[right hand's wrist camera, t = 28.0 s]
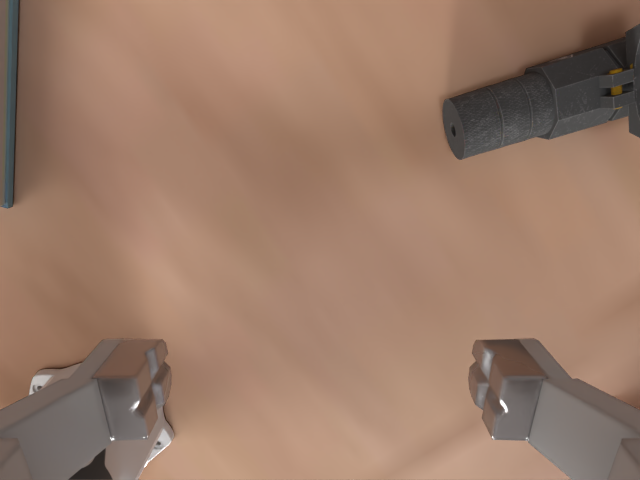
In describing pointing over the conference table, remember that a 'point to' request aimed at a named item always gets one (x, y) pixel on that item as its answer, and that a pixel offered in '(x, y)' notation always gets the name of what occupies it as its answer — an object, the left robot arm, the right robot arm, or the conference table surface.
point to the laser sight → (550, 99)
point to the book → (7, 97)
